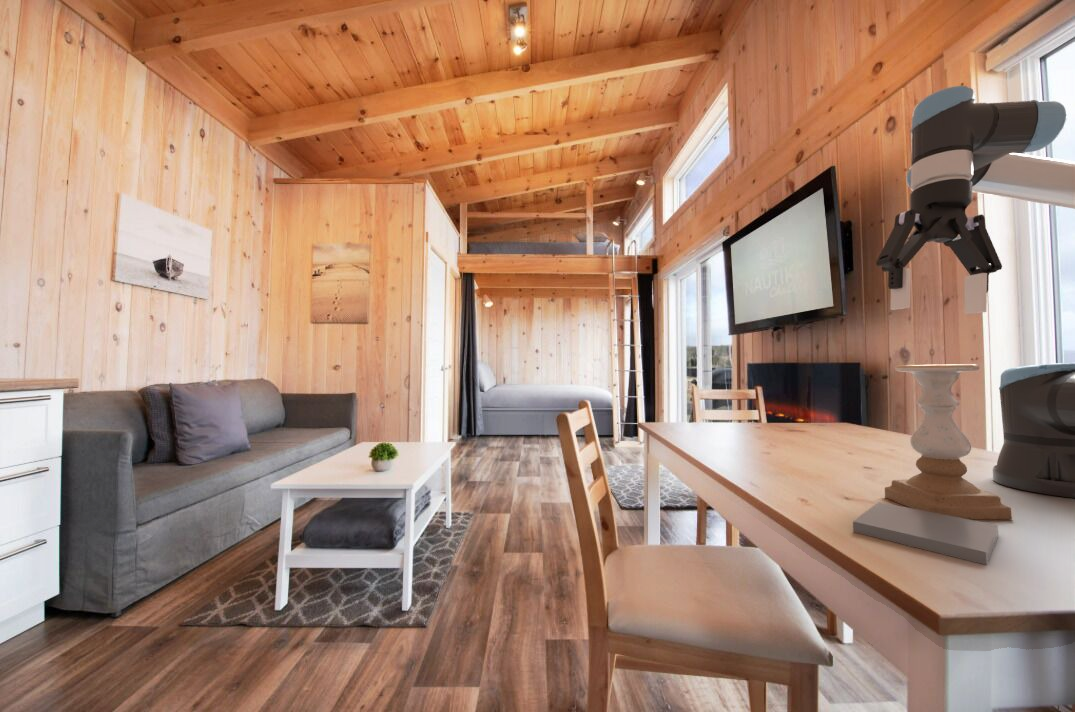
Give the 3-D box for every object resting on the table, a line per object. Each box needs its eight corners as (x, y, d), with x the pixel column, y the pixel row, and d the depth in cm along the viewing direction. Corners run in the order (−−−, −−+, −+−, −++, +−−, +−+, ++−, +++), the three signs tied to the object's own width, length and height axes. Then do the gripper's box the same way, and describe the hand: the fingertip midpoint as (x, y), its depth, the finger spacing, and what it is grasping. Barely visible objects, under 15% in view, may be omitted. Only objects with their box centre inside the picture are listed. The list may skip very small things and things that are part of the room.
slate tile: (879, 511, 67) (878, 502, 67) (998, 535, 56) (997, 524, 56) (853, 531, 59) (852, 521, 59) (986, 564, 48) (985, 552, 48)
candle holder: (948, 497, 73) (941, 364, 73) (1014, 520, 62) (1004, 363, 62) (883, 497, 74) (876, 365, 74) (936, 519, 63) (927, 365, 64)
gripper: (982, 200, 73) (980, 317, 73) (852, 190, 72) (849, 309, 71) (1035, 181, 66) (1034, 311, 65) (892, 170, 64) (889, 303, 64)
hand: (937, 311), depth 68 cm, fingers open, 13 cm apart
